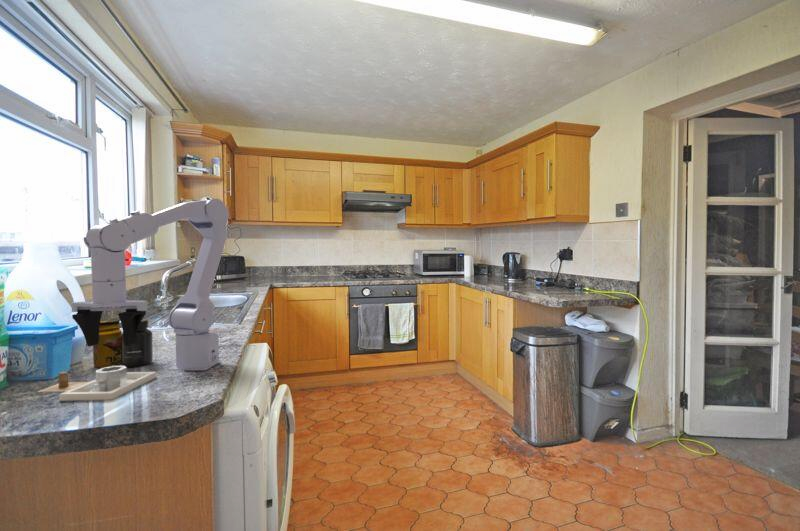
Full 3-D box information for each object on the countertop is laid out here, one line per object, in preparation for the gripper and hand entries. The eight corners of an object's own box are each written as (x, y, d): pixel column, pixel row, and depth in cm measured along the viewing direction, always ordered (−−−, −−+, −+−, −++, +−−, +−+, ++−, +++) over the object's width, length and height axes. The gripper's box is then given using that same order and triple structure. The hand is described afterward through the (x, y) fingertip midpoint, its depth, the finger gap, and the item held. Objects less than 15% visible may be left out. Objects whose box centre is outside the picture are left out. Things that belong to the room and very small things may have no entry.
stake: (88, 384, 85) (88, 368, 85) (65, 393, 79) (65, 376, 79) (61, 384, 85) (61, 369, 85) (36, 394, 79) (36, 377, 79)
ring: (131, 383, 83) (131, 365, 83) (108, 394, 77) (107, 375, 76) (108, 384, 83) (108, 365, 83) (83, 395, 76) (82, 375, 76)
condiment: (123, 367, 99) (122, 321, 99) (81, 372, 94) (79, 324, 94) (124, 360, 105) (123, 317, 105) (85, 366, 100) (84, 320, 100)
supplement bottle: (128, 371, 95) (127, 323, 94) (116, 367, 98) (115, 321, 98) (158, 364, 100) (157, 319, 100) (145, 361, 104) (144, 317, 104)
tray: (156, 379, 88) (156, 371, 88) (111, 402, 74) (111, 393, 74) (112, 380, 88) (112, 372, 88) (59, 403, 74) (59, 394, 74)
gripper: (57, 282, 76) (60, 349, 77) (130, 281, 77) (132, 348, 77) (86, 280, 83) (88, 342, 84) (152, 279, 84) (154, 341, 84)
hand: (111, 344), depth 81 cm, fingers open, 7 cm apart
